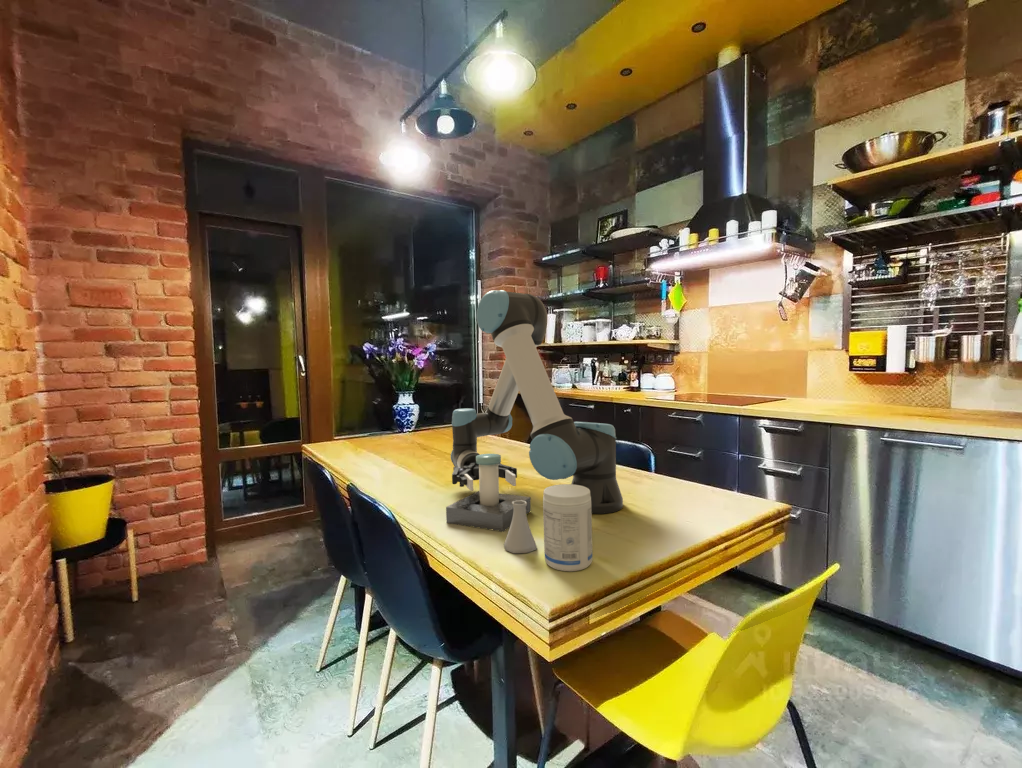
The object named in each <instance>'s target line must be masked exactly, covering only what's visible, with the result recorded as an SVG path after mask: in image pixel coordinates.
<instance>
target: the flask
mask: <svg viewBox="0 0 1022 768" xmlns="http://www.w3.org/2000/svg"><path fill="white" fill-rule="evenodd" d="M512 504H513V506H514V512H513V518H512V522H511V525H510V527H509V528H508V532H507V535H506V536H505V537H506V538H505V541H504V544H503V547H504V550H505V551H507V552H510V553H512V554H526V553H527V554H528V553H531V552H533V551H535V550H537V549H538V547H537V544H536V541H535V539H534V536H533V534H532V530H531V527H530V523H529V521H528V517H527V515H526V506H527V502H526V501H523V500H518V501H513V502H512Z"/></svg>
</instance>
